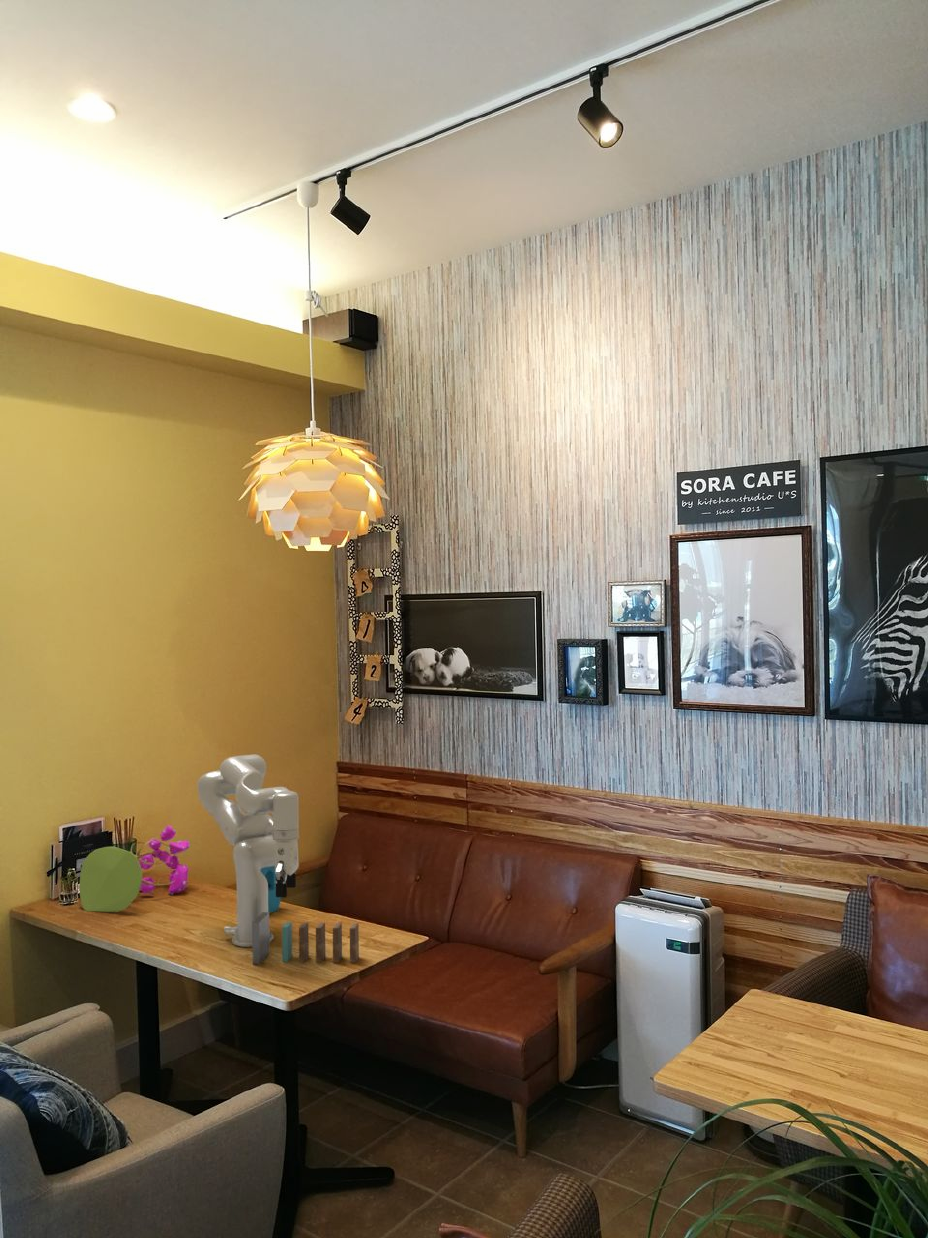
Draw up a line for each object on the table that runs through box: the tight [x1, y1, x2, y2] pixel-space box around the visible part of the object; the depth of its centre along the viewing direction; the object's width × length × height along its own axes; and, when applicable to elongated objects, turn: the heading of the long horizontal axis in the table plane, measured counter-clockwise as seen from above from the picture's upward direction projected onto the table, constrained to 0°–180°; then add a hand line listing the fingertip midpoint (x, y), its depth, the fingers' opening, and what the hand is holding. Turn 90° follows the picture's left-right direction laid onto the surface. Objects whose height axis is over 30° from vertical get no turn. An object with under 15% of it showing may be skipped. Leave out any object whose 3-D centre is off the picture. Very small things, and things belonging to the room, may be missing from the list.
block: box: [260, 866, 283, 914], centre depth 326 cm, size 12×5×20 cm, turn 140°
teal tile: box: [281, 921, 293, 963], centre depth 280 cm, size 2×5×10 cm, turn 175°
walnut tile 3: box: [315, 921, 326, 963], centre depth 279 cm, size 2×5×10 cm, turn 175°
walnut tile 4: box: [298, 921, 310, 963], centre depth 279 cm, size 2×5×10 cm, turn 175°
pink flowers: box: [78, 825, 191, 913], centre depth 344 cm, size 30×28×35 cm
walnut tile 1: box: [349, 922, 360, 964], centre depth 278 cm, size 2×5×10 cm, turn 175°
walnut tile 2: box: [332, 922, 343, 964], centre depth 278 cm, size 2×5×10 cm, turn 175°
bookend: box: [252, 912, 271, 965], centre depth 280 cm, size 2×10×12 cm, turn 175°
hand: (285, 892), depth 280 cm, fingers open, 9 cm apart
